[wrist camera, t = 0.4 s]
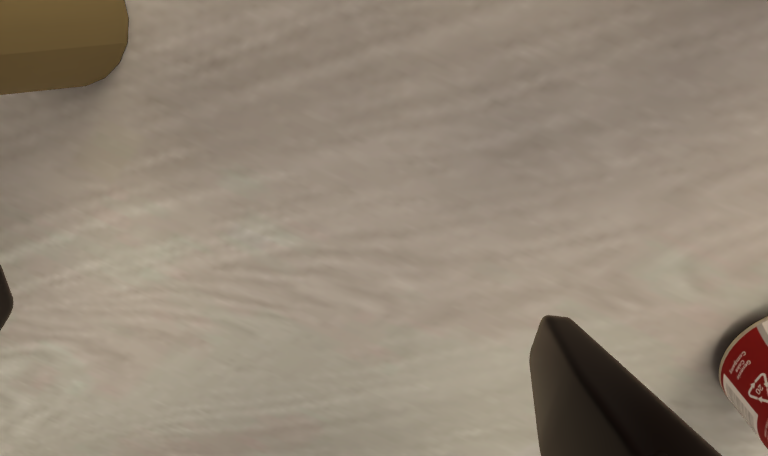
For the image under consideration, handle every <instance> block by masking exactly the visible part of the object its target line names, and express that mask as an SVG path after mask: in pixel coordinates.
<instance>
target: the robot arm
mask: <svg viewBox="0 0 768 456" xmlns="http://www.w3.org/2000/svg"><path fill="white" fill-rule="evenodd" d="M12 308H13V297H12V294H11V291H10V289H9V286H8V283H7V280H6V278H5V275H4V272H3V269H2V267H1V265H0V330H1V329H2V327H3V325H4V324H5V322H6V320H7V319H8V317H9V315H10V313H11V311H12ZM530 372H531V381H532V389H533V398H534V406H535V415H536V423H537V432H538V440H539V447H540V452H541V456H722V455H721V454H720V453H718V452H717V451H716V450H715V449H714V448H713V447H712V446H711V445H710V444H708V443H707V442H706V441H705V440H704V439H703V438H702V437H701V436H700V435H699V434H697V433H696V432H695V431H694V430H693V429H692V428H691V427H690V426H689V425H687V424H686V423H685V422H684V421H683V420H682V419H681V418H680V417H679V416H678V415H676V414H675V413H674V412H673V411H672V410H671V409H670V408H669V407H668V406H667V405H665V404H664V403H663V402H662V401H661V400H660V399H659V398H658V397H657V396H655V395H654V394H653V393H652V392H651V391H650V390H649V389H648V388H647V387H646V386H644V385H643V384H642V383H641V382H640V381H639V380H638V379H637V378H636V377H634V376H633V375H632V374H631V373H630V372H629V371H628V370H627V369H626V368H625V367H623V366H622V365H621V364H620V363H619V362H618V361H617V360H616V359H615V358H614V357H612V356H611V355H610V354H609V353H608V352H607V351H606V350H605V349H604V348H602V347H601V346H600V345H599V344H598V343H597V342H596V341H595V340H594V339H593V338H591V337H590V336H589V335H588V334H587V333H586V332H585V331H584V330H583V329H581V328H580V327H579V326H578V325H577V324H576V323H575V322H574V321H573V320H571V319H570V318H567V317H560V316H550V315H547V316H545V317H543V319H542V320H541V322H540V325H539V328H538V331H537V333H536V336H535V339H534V342H533V345H532V348H531V351H530Z"/></svg>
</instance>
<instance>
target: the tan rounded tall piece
mask: <svg viewBox="0 0 768 456" xmlns="http://www.w3.org/2000/svg"><path fill="white" fill-rule="evenodd" d="M127 40H128V14H127V10H126V6H125V2H124V0H0V95H3V94H13V93H23V92H32V91H42V90H52V89H62V88H71V87H81V86H87V85H89V84H92V83H94V82H96V81H99V80H101V79H103V78H105V77H106V76H107V75H108V74H109V73H110V72H111V71H112V70H113V69H114V68H115V67H116V66H117V65H118V64H119V62H120V60H121V57H122V55H123V52H124V50H125V47H126V45H127Z"/></svg>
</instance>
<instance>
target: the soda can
mask: <svg viewBox="0 0 768 456" xmlns="http://www.w3.org/2000/svg"><path fill="white" fill-rule="evenodd" d="M719 381H720V385H721V388H722V390H723V391H724V393H725V394H726V396H727V397H728V398H729V400H730V401H731V402H732V403H733V405H734V406H735V407H736V409H737V410H738V411H739V413H740V414H741V415H742V416H743V418H744V419H745V420H746V422H747V423H748V424H749V425H750V427H751V428H752V429H753V431H754V432H755V433H756V434H757V436H758V437H759V438H760V440H761V441H762V442H763V443H764V445H765V446H766V447H767V449H768V316H767V317H765V318H763V319H761V320H759V321H757V322H756V323H754V324H752V325H751V326H749V327H748V328H747V329H745V330H744V331H743V332H742V333H740V334H739V335H738V336H737V337H736V338H735V339H734V341H733V342H732V343H731V344H730V345H729V347H728V348H727V350H726V351H725V353H724V355H723V357H722V360H721V363H720V367H719Z"/></svg>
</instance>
